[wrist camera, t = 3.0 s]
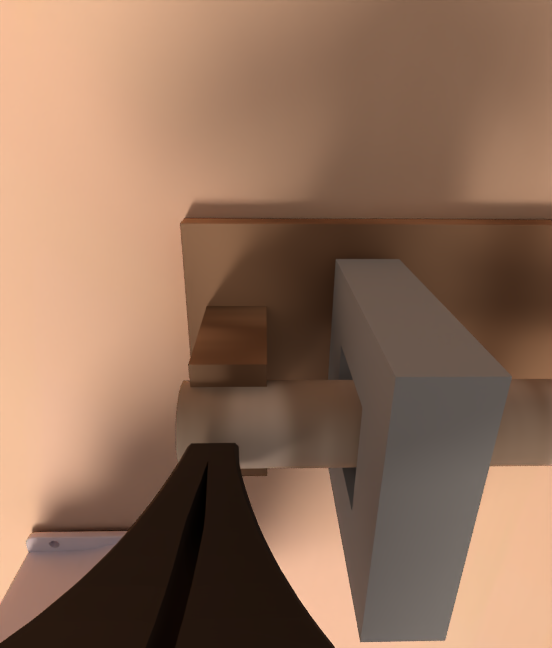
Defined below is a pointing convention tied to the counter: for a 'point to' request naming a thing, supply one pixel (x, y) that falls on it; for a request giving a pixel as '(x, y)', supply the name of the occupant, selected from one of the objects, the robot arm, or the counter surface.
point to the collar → (409, 447)
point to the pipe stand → (316, 319)
